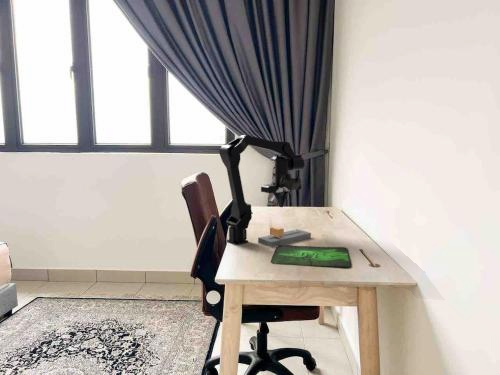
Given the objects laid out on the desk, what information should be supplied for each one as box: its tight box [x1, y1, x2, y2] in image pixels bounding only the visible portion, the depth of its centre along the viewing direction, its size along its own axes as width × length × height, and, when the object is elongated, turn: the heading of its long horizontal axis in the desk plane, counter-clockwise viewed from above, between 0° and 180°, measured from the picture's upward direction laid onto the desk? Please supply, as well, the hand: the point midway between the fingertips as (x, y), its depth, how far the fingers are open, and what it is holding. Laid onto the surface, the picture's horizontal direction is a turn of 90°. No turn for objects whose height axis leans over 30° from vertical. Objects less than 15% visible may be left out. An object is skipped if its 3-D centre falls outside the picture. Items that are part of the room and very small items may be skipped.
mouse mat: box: [270, 244, 352, 269], centre depth 136 cm, size 27×22×1 cm
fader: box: [269, 225, 285, 237], centre depth 153 cm, size 3×5×4 cm
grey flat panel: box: [257, 228, 312, 248], centre depth 156 cm, size 22×8×2 cm, turn 128°
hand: (281, 207), depth 164 cm, fingers closed
